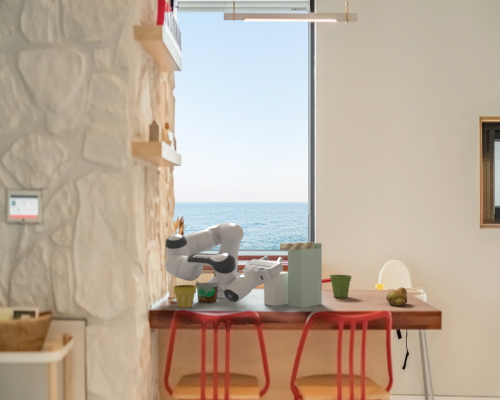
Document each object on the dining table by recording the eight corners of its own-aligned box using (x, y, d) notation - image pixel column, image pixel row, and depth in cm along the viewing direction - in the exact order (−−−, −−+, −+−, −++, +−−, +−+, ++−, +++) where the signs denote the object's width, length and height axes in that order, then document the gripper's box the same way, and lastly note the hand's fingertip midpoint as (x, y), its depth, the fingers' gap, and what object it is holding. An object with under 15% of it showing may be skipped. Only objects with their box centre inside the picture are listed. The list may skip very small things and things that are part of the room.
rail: (284, 250, 238) (284, 243, 238) (280, 249, 240) (280, 243, 240) (314, 248, 250) (314, 242, 250) (309, 248, 253) (309, 241, 253)
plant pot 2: (356, 298, 268) (356, 276, 268) (336, 299, 264) (336, 277, 264) (344, 294, 279) (344, 274, 279) (325, 296, 275) (325, 274, 275)
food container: (191, 302, 253) (191, 282, 254) (196, 300, 259) (196, 281, 259) (213, 304, 249) (214, 283, 249) (219, 302, 255) (219, 282, 255)
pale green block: (301, 307, 240) (301, 244, 240) (288, 305, 246) (287, 243, 247) (321, 304, 249) (321, 243, 249) (308, 302, 255) (308, 242, 256)
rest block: (274, 306, 244) (273, 274, 244) (264, 304, 249) (264, 273, 250) (292, 303, 252) (291, 272, 252) (282, 301, 257) (282, 271, 258)
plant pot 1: (175, 304, 248) (175, 284, 248) (197, 305, 247) (197, 284, 248) (171, 308, 237) (171, 287, 238) (194, 308, 237) (194, 287, 237)
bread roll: (408, 307, 241) (408, 290, 241) (387, 306, 243) (386, 289, 243) (406, 303, 253) (406, 286, 254) (386, 302, 256) (386, 286, 256)
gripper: (242, 278, 236) (262, 262, 244) (272, 283, 220) (292, 265, 228) (237, 267, 234) (257, 250, 242) (267, 270, 218) (287, 253, 226)
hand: (274, 257), depth 235 cm, fingers open, 8 cm apart
